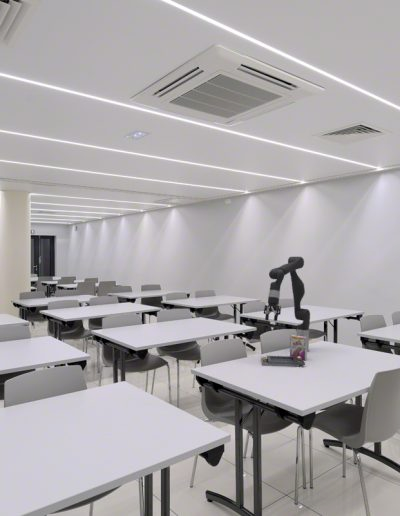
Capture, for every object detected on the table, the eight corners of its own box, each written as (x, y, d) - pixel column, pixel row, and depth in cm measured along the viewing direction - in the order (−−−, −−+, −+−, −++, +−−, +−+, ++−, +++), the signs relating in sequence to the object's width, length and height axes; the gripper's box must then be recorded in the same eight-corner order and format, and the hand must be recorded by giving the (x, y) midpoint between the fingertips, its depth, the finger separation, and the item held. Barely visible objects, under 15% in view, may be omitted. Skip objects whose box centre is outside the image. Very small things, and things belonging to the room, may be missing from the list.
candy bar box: (289, 358, 283) (289, 336, 283) (291, 357, 287) (292, 334, 287) (304, 361, 277) (305, 337, 277) (307, 359, 281) (307, 336, 281)
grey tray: (260, 359, 279) (261, 352, 279) (300, 361, 277) (301, 353, 277) (262, 365, 264) (262, 358, 264) (304, 367, 261) (304, 359, 261)
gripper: (285, 298, 267) (282, 322, 264) (270, 298, 279) (267, 321, 276) (277, 296, 264) (274, 320, 260) (262, 296, 276) (259, 319, 272)
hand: (270, 320), depth 268 cm, fingers open, 8 cm apart
